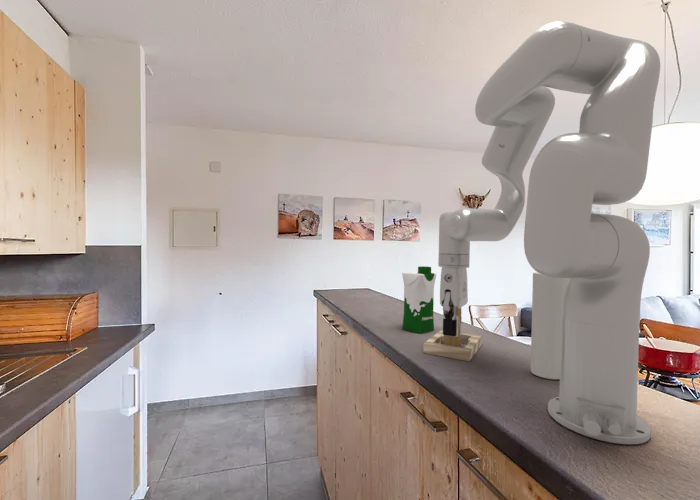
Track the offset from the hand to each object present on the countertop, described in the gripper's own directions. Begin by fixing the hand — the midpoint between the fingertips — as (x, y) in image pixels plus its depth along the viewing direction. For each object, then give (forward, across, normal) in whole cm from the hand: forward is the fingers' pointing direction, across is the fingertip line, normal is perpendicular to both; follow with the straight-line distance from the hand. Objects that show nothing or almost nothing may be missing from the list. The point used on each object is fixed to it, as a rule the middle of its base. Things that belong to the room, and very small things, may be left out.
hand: (452, 332), depth 86 cm
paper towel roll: (+5, -5, -22) cm, 23 cm away
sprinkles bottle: (+4, 0, 0) cm, 4 cm away
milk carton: (+5, +16, +14) cm, 22 cm away
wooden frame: (+5, +2, 0) cm, 5 cm away
